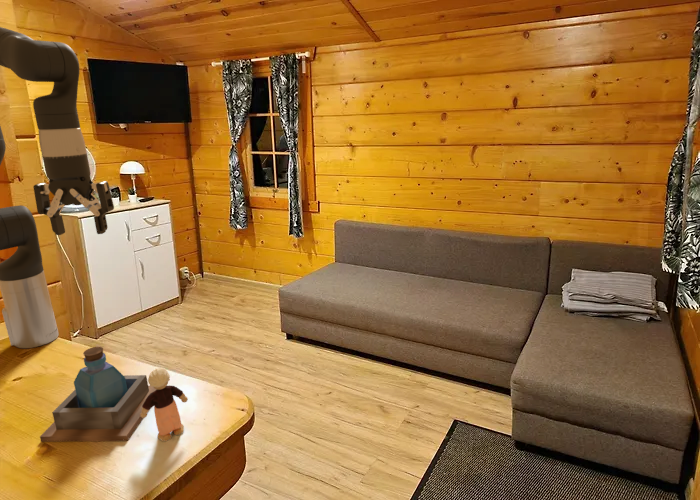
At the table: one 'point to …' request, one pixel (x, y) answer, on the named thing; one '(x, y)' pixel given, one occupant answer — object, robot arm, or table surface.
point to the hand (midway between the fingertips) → (81, 233)
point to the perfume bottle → (99, 381)
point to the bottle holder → (100, 416)
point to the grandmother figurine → (164, 404)
